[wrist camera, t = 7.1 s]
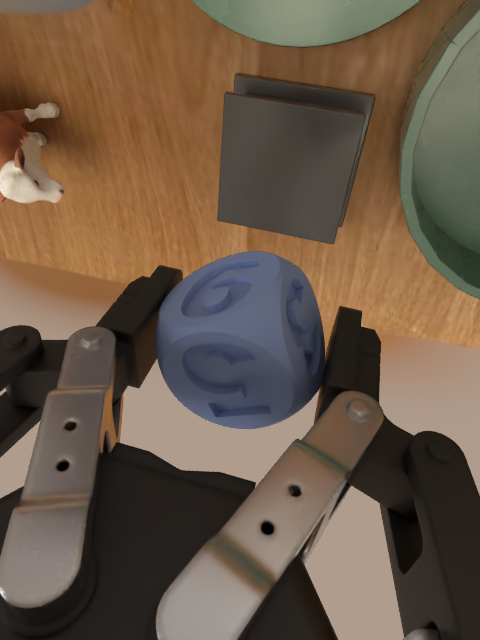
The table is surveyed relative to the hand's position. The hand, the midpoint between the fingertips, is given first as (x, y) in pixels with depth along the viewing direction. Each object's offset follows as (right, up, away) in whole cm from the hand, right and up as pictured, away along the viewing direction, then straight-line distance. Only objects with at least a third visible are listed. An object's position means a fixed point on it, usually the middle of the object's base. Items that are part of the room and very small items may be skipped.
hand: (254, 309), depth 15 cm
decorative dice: (0, 0, 0) cm, 1 cm away
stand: (+3, +10, +13) cm, 16 cm away
